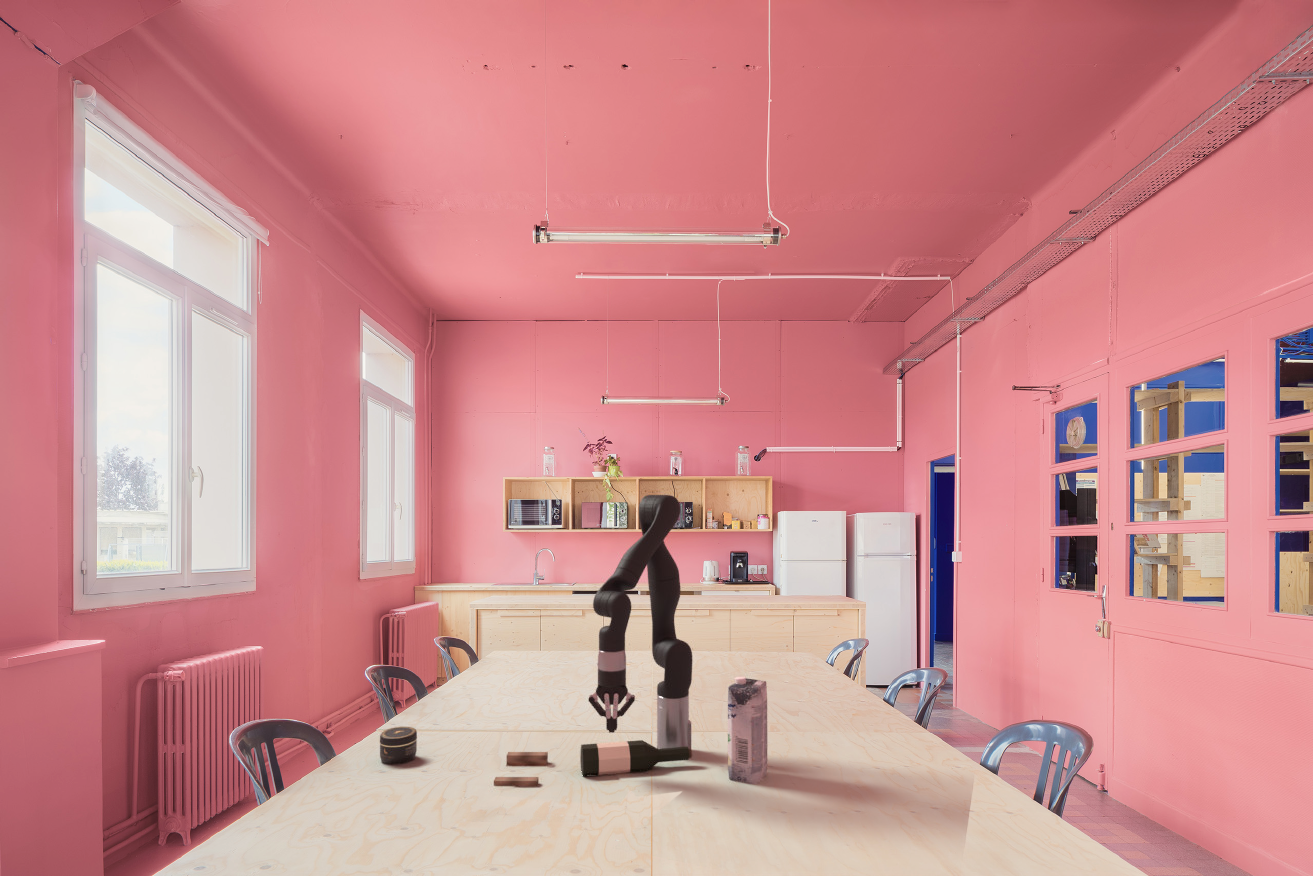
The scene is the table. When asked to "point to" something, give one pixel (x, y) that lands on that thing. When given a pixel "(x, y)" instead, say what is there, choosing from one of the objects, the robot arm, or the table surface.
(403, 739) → the jar
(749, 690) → the juice carton
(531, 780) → the u rest
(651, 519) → the robot arm
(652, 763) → the wine bottle
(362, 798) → the table surface
